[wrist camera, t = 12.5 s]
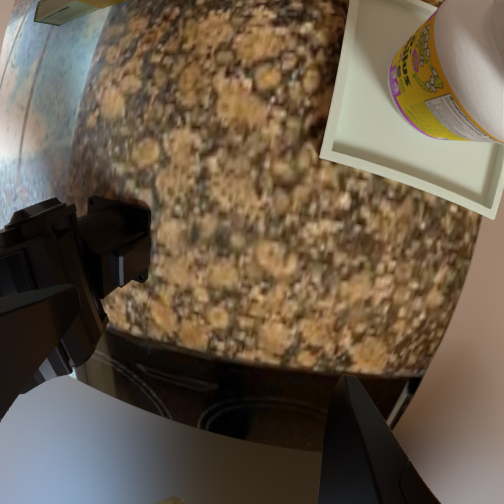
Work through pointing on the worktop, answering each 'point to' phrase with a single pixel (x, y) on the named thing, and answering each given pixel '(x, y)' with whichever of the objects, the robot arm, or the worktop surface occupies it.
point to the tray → (391, 122)
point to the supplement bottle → (454, 73)
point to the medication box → (68, 9)
